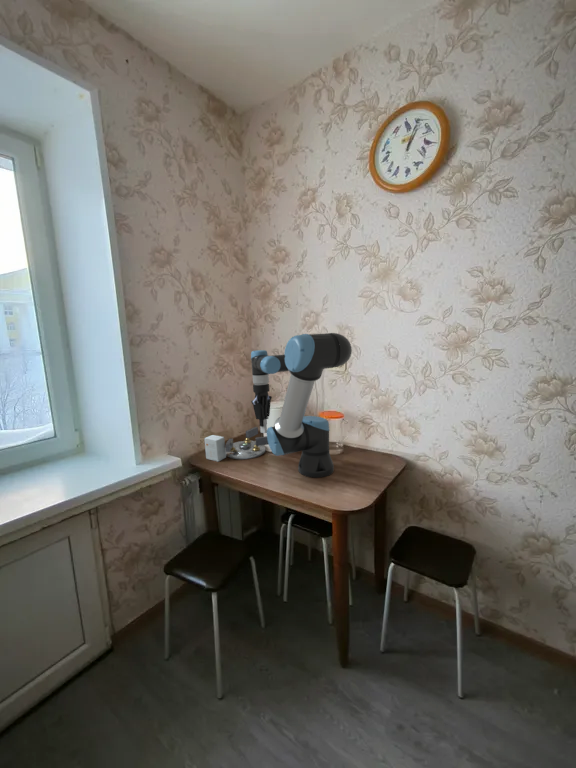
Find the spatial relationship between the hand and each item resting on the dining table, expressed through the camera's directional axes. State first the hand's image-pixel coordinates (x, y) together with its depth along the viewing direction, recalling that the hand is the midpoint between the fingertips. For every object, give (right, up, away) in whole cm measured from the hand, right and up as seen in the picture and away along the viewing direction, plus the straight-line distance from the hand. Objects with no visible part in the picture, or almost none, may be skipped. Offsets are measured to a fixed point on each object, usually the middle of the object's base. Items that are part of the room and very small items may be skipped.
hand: (263, 432), depth 158 cm
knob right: (-8, -7, +17) cm, 20 cm away
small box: (-23, -13, +1) cm, 26 cm away
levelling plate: (-10, -11, +8) cm, 17 cm away
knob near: (-1, -9, +5) cm, 10 cm away
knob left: (-16, -10, +2) cm, 19 cm away
